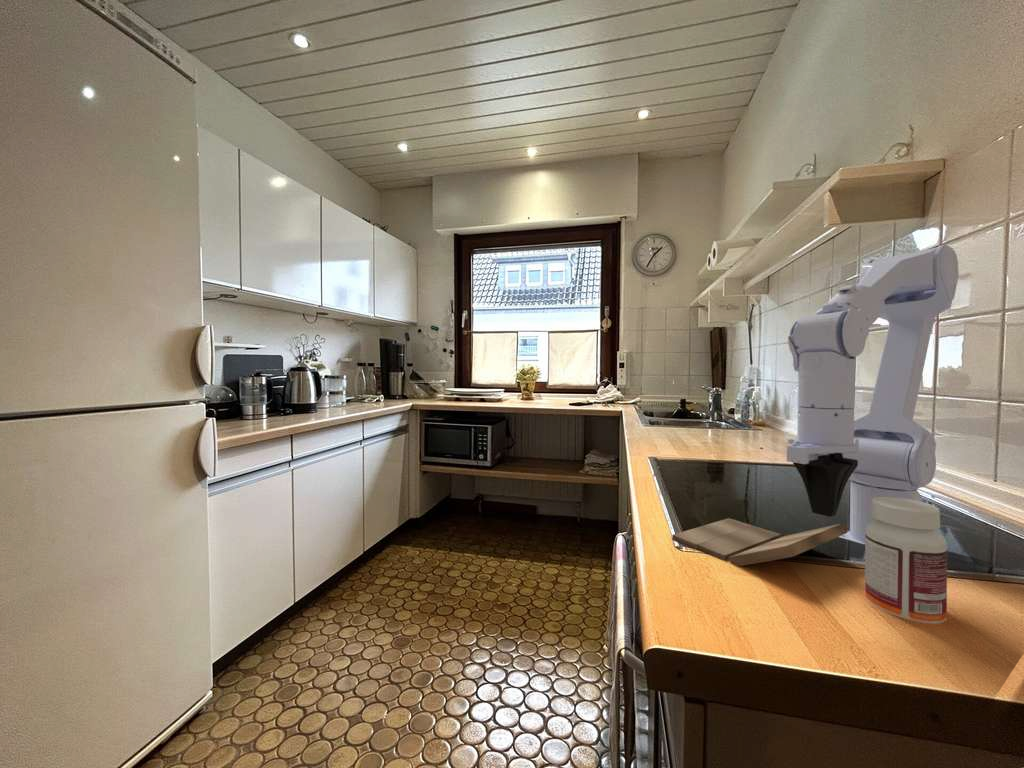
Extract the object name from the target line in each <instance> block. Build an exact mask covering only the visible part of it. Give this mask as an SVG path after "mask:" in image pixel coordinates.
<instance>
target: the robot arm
mask: <svg viewBox="0 0 1024 768" xmlns="http://www.w3.org/2000/svg"><path fill="white" fill-rule="evenodd" d="M958 259H959V258H958V257H957V253H956V251H955V249H954V248H952V247H951V246H950V245H948V244H942V245H939V246H937V247H932V248H927V249H923V250H918V251H913V252H909V253H903V254H898V255H893V256H889V257H884V258H878V259H874V258H873V259H869V260H866V261H865V263H864V264H863V265H861V267H860V268H861V269H860V272H859V278H858V280H859V281H858V283H857V284H855V283H853V284H849V285H842V286H840V288H838V289H837V293H836V294H835V295H834V296H833V297H831V299H829V300H828V302H826V303H824V304H823V305H822V306H821V308H820V309H818V310H817V311H816V312H815V313H814V314H810V315H804V316H801V317H800V318H799V319H798V320H796V321H795V322H793V324H792V325H791V328H790V331H789V335H788V336H787V340H788V341H787V342H788V348H789V350H790V353H791V354H792V367H793V371H795V372H797V437H791V438H790V437H789V438H787V445H786V462H790V463H792V465H794V467H795V469H796V470H797V472H798V473H799V475H800V477H801V479H802V483H803V484H804V487H805V492H806V494H807V497H808V503H809V505H810V509H811V511H812V513H814V514H816V515H819V516H821V515H822V516H825V517H829V518H832V517H834V516H836V514H837V512H838V510H839V506H840V504H841V499H842V498H843V497H842V496H843V494H844V493H843V492H844V490H845V489H846V488H845V487H846V485H847V483H848V481H850V487H849V488H850V489H849V490H850V494H849V495H850V501H849V503H850V504H849V507H850V508H849V510H850V511H849V513H850V514H849V530H848V531H847V533H846V534H844V535H841V536H839V537H838V538H841V539H844V540H847V541H850V542H851V541H852V542H854V543H858V544H861V545H865V540H866V535H865V532H866V526H867V525H868V524H869V523H870V522H872V521H875V520H878V519H876V518H874V517H872V516H871V503H872V499H873V498H875V497H895V498H903V499H910V500H915V501H920V502H923V501H924V500H923V497H922V496H921V494H920V492H919V491H918V489H921V488H925V487H926V486H927V485H929V484H931V483H932V481H933V479H934V477H935V474H936V468H937V458H936V457H937V456H936V447H937V442H936V439H935V438H934V435H933V434H932V433H931V432H930V431H929V430H928V429H927V428H926V427H923V426H922V425H921V424H919V423H917V422H916V421H914V415H915V411H916V406H917V400H918V397H919V392H920V391H919V390H920V387H921V382H922V378H923V372H924V368H925V363H926V358H927V354H928V350H929V349H928V348H929V345H930V344H929V343H930V339H931V334H932V330H933V327H934V324H935V321H936V317H937V316H938V315H940V314H942V313H943V312H945V311H947V310H949V309H950V308H951V307H952V303H953V300H954V299H955V295H956V290H957V285H958V280H959V274H960V273H959V260H958ZM878 319H882V320H885V321H887V323H888V327H887V331H886V336H885V341H884V345H883V349H882V352H881V359H880V362H879V366H878V371H877V375H876V380H875V383H874V388H873V393H872V397H871V401H870V406H869V410H868V412H867V413H866V414H864V415H862V416H861V417H858V418H856V419H855V401H856V400H855V397H856V396H855V390H856V386H855V385H856V384H855V381H856V380H855V379H856V357H858V356H860V355H862V353H863V352H864V350H865V348H866V347H865V346H866V342H867V338H868V336H869V335H870V334H869V333H870V328H871V326H872V325H874V323H875V322H876V321H877V320H878Z"/></svg>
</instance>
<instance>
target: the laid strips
mask: <svg viewBox="0 0 1024 768" xmlns="http://www.w3.org/2000/svg"><path fill="white" fill-rule="evenodd" d="M671 536H672V537H671V539H672V540H673V541H676V542H678V543H681V544H683V545H685V546H689V547H690V548H693V549H696V550H697V551H700V552H703V553H705V554H707V555H710V556H713V557H715V558H718V559H720V560H722V561H726V560H729V558H728V557H731V556H733V555H736V554H739V553H741V552H744V551H747V550H749V549H752V548H755V547H757V546H760V545H762V544H765V543H768V542H770V541H773V540H776V539H778V538H781V537H782V534H781V533H779V532H776V531H771V530H768V529H766V528H762V527H759V526H755V525H751V524H749V523H746V522H744V521H743V522H742V521H739V520H737V519H734V518H733V519H732V518H729V517H728V518H725V519H721V520H718V521H715V522H711V523H708V524H705V525H701V526H698V527H694V528H691V529H687V530H684V531H680V532H677V533H674V534H672V535H671Z"/></svg>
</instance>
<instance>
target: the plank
mask: <svg viewBox="0 0 1024 768" xmlns="http://www.w3.org/2000/svg"><path fill="white" fill-rule="evenodd" d="M847 532H848V531H847V529H846V528H845V525H844V524H843V523H839V524H833V525H829V526H825V527H824V526H823V527H820V528H816V529H815V528H814V529H810V530H806V531H801V532H797V533H793V534H787V535H784V536H781V538H778V539H776V540H773V541H770V542H768V543H765V544H762V545H760V546H757V547H755V548H752V549H749V550H747V551H744V552H741V553H739V554H736V555H733V556H731V557H728V558H729V559H728V560H729V563H731V564H733V565H734V566H737V567H742V566H747V565H754V564H760V563H765V562H771V561H777V560H782V559H789V558H793V557H795V556H798V555H800V554H802V553H805V552H807V551H810V550H811V549H814V548H816V547H818V546H821V545H823V544H825V543H828V542H830V541H832V540H834V539H837V538H840V537H839V536H841V535H844V534H846V533H847Z"/></svg>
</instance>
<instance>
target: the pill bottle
mask: <svg viewBox="0 0 1024 768" xmlns="http://www.w3.org/2000/svg"><path fill="white" fill-rule="evenodd" d="M871 516H872V517H874V518H876V519H878V520H875V521H872V522H870V523H869V524H868V525H867V526H866V532H865V535H866V540H865V544H864V545H865V546H864V547H865V551H864V552H865V554H864V555H865V559H864V560H865V561H864V564H865V565H864V566H865V567H864V570H865V571H864V573H865V574H864V591H865V592H864V594H865V598H866V600H867V601H868V602H869V603H870V604H871V605H872V606H873V607H876V608H878V609H879V610H881V611H883V612H886V613H888V614H890V615H893V616H895V617H899V618H902V619H905V620H909V621H913V622H918V623H922V624H923V623H924V624H942V623H945V622H946V621H947V618H948V617H947V615H948V614H947V613H948V611H947V608H948V607H947V605H948V600H947V599H948V590H947V589H948V549H949V548H948V543H947V540H946V539H945V537H944V535H942V534H941V533H939V532H938V531H936V530H938V529H939V528H941V511H940V508H938V507H937V506H935V505H934V504H930V503H927V502H920V501H915V500H910V499H903V498H895V497H875V498H873V499H872V503H871Z"/></svg>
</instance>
